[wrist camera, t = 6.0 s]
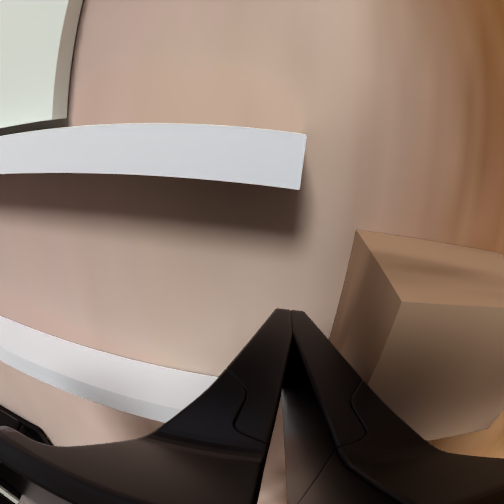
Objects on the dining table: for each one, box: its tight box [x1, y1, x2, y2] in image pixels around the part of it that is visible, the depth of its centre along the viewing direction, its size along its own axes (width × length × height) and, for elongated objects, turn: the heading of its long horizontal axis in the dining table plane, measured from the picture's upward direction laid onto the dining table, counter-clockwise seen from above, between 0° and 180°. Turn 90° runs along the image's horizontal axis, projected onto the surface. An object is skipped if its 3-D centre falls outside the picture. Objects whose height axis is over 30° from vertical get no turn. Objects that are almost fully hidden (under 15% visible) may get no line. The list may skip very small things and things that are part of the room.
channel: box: [0, 123, 307, 423], centre depth 9 cm, size 10×18×2 cm, turn 84°
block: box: [329, 230, 504, 441], centre depth 8 cm, size 5×6×4 cm
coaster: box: [0, 0, 83, 129], centre depth 6 cm, size 8×8×1 cm
